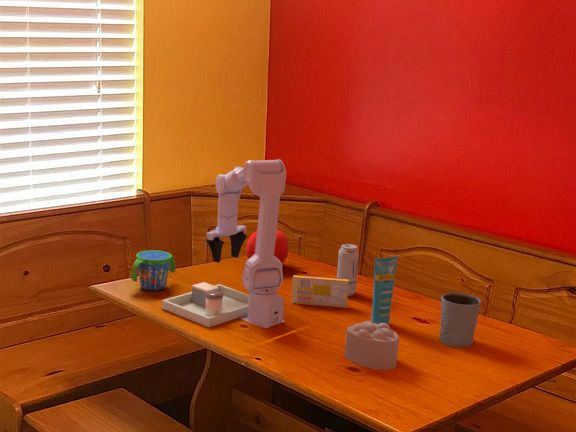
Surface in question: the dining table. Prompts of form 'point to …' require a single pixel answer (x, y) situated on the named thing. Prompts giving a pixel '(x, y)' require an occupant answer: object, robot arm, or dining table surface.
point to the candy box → (320, 291)
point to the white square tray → (183, 306)
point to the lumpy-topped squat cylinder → (372, 345)
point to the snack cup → (153, 269)
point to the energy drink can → (348, 266)
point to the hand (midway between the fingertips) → (225, 259)
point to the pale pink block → (201, 292)
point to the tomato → (279, 249)
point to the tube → (383, 289)
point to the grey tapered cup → (458, 319)
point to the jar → (213, 303)
